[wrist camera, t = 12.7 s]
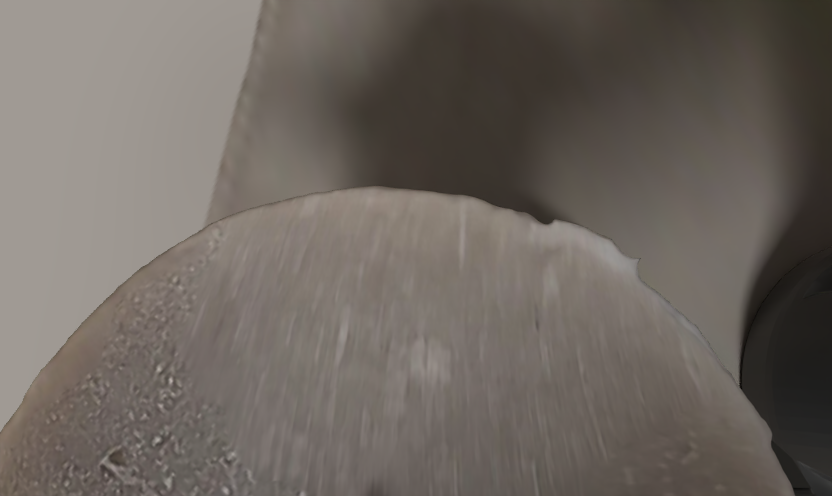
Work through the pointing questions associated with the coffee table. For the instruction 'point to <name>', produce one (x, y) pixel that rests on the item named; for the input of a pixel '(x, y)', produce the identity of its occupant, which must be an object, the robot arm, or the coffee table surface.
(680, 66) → the coffee table surface
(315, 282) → the pillar candle
